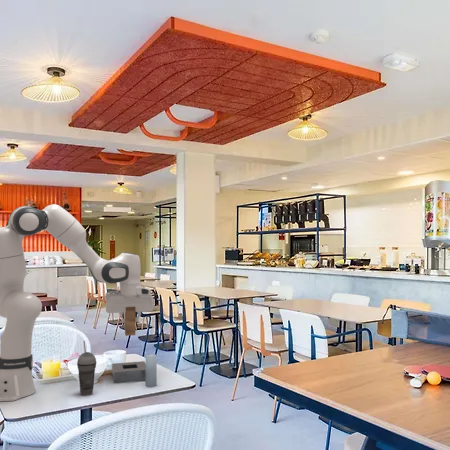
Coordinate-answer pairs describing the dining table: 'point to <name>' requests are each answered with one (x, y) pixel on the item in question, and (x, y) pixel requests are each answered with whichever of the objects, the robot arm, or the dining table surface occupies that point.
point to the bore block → (129, 372)
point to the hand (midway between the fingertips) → (130, 322)
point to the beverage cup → (86, 372)
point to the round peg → (151, 370)
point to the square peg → (130, 321)
